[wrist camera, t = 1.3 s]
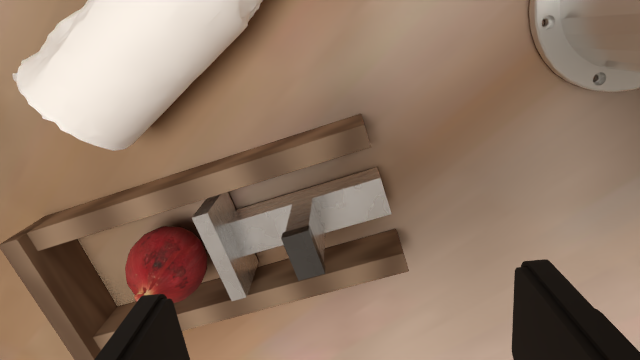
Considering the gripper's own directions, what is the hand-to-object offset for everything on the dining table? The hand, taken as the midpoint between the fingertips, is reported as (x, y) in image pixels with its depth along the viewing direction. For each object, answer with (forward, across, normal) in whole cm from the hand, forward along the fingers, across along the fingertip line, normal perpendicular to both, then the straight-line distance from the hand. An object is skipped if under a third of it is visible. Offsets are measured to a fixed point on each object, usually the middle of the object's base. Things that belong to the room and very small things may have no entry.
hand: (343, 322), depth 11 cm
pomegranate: (+22, +14, +8) cm, 27 cm away
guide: (+22, +11, +7) cm, 25 cm away
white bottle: (+22, +10, -10) cm, 26 cm away
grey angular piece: (+21, +3, +6) cm, 22 cm away
